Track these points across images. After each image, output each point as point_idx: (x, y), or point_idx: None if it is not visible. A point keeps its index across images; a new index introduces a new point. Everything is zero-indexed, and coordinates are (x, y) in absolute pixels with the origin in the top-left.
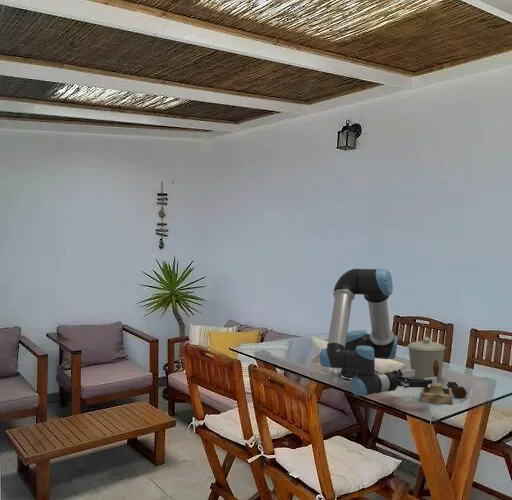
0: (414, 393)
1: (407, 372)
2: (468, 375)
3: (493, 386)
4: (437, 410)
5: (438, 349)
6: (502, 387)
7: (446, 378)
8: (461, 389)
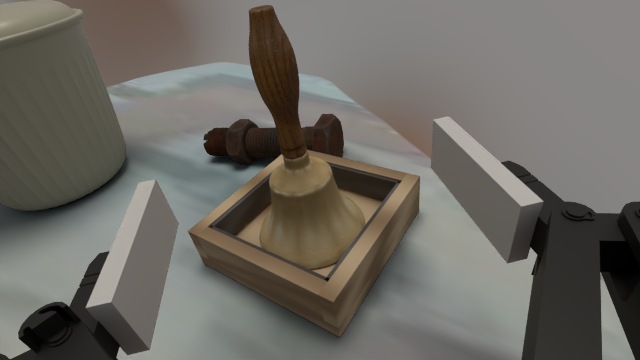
0: (176, 299)
1: (141, 254)
2: (148, 97)
3: None
4: None
5: (66, 15)
6: None
7: None
8: (335, 126)
